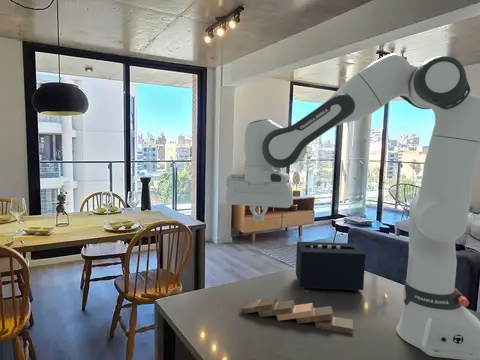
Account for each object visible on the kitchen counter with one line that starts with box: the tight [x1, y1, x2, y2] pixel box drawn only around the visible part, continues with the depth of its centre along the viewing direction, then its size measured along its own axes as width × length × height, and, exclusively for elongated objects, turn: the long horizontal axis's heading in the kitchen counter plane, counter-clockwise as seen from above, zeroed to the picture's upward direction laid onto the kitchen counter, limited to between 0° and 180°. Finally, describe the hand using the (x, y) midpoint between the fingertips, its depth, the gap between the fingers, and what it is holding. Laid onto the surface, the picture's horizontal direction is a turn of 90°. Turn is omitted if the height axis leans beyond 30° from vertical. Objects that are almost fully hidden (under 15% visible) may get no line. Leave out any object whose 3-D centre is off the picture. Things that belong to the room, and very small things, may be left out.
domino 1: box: [240, 296, 278, 314], centre depth 104 cm, size 2×5×10 cm
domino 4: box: [295, 305, 334, 324], centre depth 99 cm, size 2×5×10 cm
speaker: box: [295, 241, 366, 293], centre depth 124 cm, size 22×13×15 cm, turn 88°
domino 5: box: [314, 316, 354, 335], centre depth 97 cm, size 2×5×10 cm
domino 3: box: [276, 302, 315, 322], centre depth 100 cm, size 2×5×10 cm
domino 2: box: [257, 299, 296, 318], centre depth 102 cm, size 2×5×10 cm
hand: (258, 220), depth 104 cm, fingers closed
